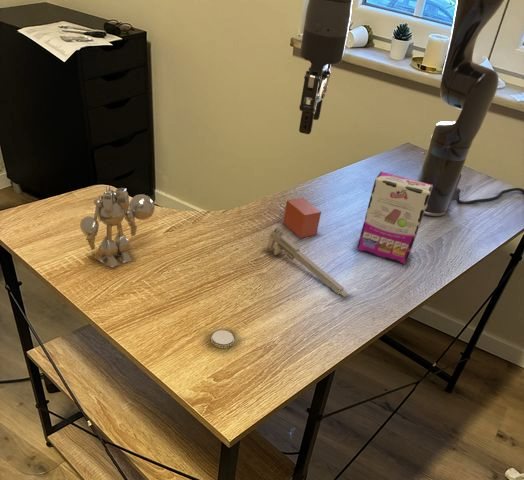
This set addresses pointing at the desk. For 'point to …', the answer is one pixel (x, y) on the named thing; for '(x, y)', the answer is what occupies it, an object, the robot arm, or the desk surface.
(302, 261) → the caliper
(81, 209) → the desk surface
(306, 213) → the block
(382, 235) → the candy bar box
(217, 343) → the ridged bottle cap
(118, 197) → the robot toy
